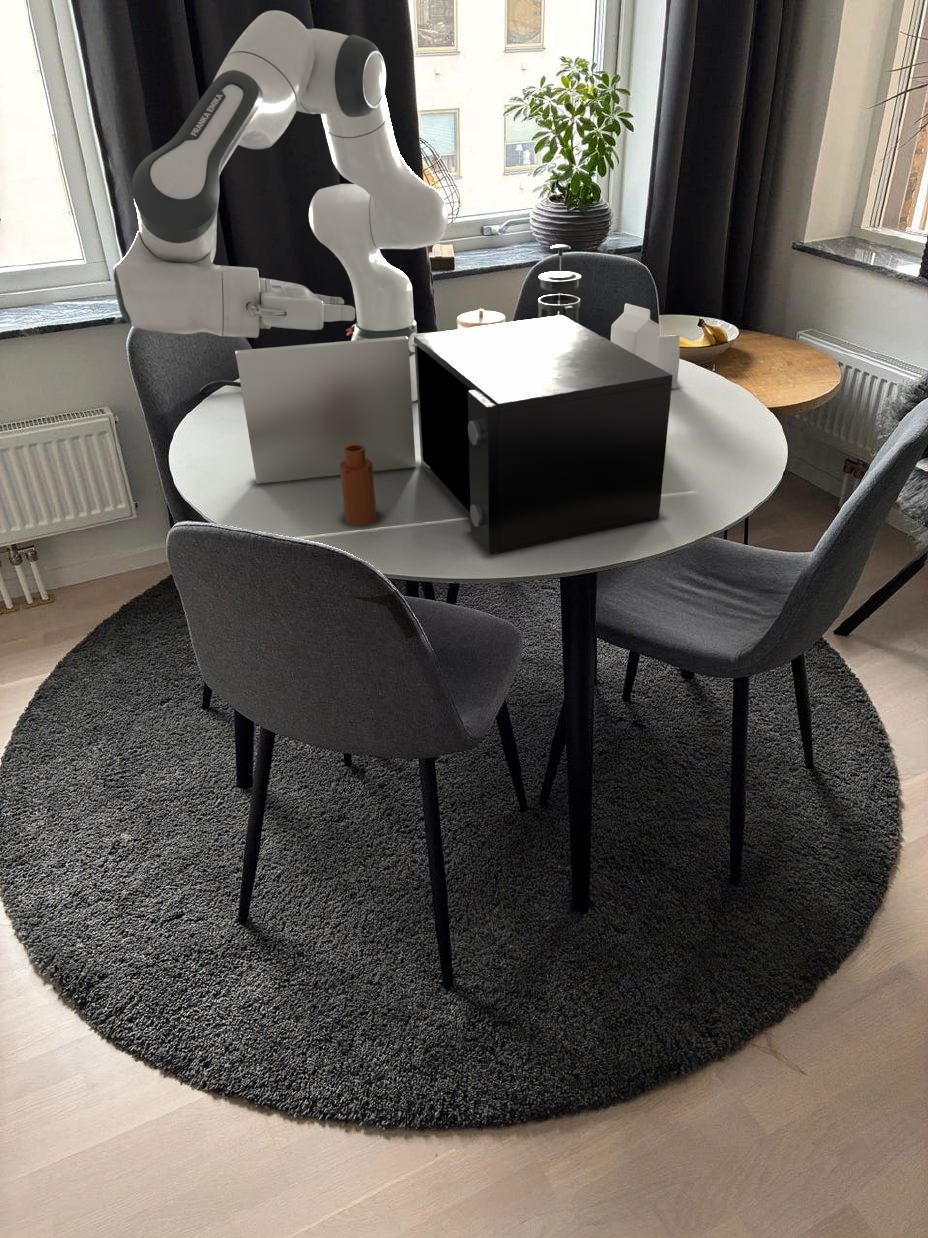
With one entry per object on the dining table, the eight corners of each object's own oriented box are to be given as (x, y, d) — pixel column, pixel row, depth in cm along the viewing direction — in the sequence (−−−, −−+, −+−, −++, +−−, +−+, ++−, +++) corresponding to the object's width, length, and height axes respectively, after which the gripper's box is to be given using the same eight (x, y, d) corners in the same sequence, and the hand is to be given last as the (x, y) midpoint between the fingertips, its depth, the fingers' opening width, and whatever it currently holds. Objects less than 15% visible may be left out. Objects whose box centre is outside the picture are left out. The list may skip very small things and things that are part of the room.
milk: (628, 438, 167) (637, 313, 154) (604, 429, 171) (611, 306, 158) (652, 430, 170) (663, 306, 157) (628, 420, 174) (636, 299, 161)
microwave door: (256, 467, 160) (235, 340, 148) (409, 451, 164) (401, 326, 152) (256, 484, 154) (235, 353, 142) (415, 466, 158) (408, 338, 147)
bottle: (339, 522, 142) (331, 451, 136) (356, 509, 146) (349, 440, 139) (366, 528, 140) (359, 456, 134) (382, 515, 144) (376, 444, 138)
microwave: (484, 556, 132) (481, 406, 120) (407, 467, 159) (399, 337, 147) (659, 518, 140) (672, 374, 128) (558, 439, 167) (562, 314, 155)
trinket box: (511, 346, 214) (511, 304, 209) (497, 360, 206) (496, 317, 200) (466, 343, 217) (465, 301, 212) (451, 357, 209) (449, 314, 203)
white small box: (676, 387, 188) (681, 338, 182) (642, 389, 188) (646, 339, 182) (672, 381, 191) (677, 332, 185) (639, 383, 191) (643, 333, 185)
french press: (529, 350, 211) (530, 242, 199) (568, 345, 213) (571, 238, 201) (548, 365, 202) (550, 253, 189) (588, 360, 204) (593, 249, 191)
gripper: (249, 285, 113) (362, 292, 117) (240, 270, 131) (338, 277, 135) (249, 338, 116) (360, 344, 120) (240, 317, 134) (337, 322, 138)
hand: (348, 308), depth 127 cm, fingers open, 8 cm apart
